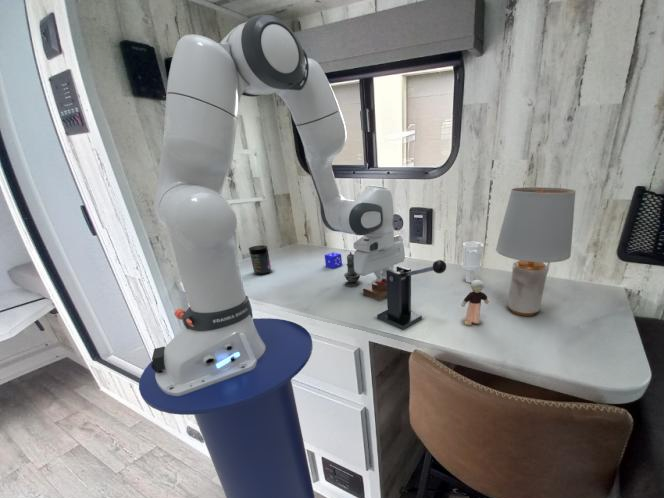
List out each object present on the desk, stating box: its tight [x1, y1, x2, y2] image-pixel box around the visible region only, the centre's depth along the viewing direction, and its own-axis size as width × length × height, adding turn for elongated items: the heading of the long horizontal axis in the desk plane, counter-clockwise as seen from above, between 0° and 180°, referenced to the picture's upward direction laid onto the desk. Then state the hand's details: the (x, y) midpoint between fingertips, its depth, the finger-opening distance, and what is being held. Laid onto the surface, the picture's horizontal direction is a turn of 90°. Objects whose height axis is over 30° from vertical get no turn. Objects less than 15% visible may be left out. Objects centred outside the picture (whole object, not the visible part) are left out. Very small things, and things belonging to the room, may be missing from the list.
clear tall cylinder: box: [460, 241, 484, 283], centre depth 110 cm, size 7×7×15 cm
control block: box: [362, 278, 387, 301], centre depth 104 cm, size 10×8×4 cm
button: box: [376, 280, 387, 284], centre depth 103 cm, size 4×4×2 cm
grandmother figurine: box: [460, 279, 489, 326], centre depth 82 cm, size 8×4×13 cm, turn 114°
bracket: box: [376, 265, 423, 331], centre depth 84 cm, size 10×8×15 cm
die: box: [324, 252, 343, 269], centre depth 130 cm, size 5×5×5 cm
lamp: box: [495, 186, 577, 317], centre depth 84 cm, size 19×19×34 cm
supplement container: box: [248, 244, 273, 276], centre depth 122 cm, size 7×7×10 cm
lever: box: [396, 259, 447, 280], centre depth 77 cm, size 17×3×3 cm, turn 48°
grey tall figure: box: [343, 251, 361, 287], centre depth 110 cm, size 6×6×12 cm
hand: (381, 280), depth 103 cm, fingers closed, pressing on button
